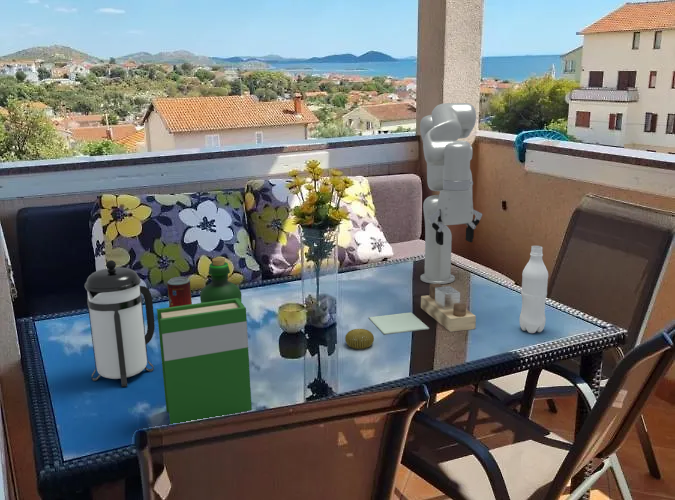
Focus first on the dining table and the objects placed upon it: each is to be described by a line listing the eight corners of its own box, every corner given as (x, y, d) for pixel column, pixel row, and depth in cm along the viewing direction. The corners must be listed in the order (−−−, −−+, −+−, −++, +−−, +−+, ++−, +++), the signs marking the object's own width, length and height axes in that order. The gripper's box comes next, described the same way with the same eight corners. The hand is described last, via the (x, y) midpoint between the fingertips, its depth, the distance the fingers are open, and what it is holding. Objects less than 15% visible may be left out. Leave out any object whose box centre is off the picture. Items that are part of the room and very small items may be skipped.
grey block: (434, 302, 194) (435, 287, 193) (449, 301, 196) (450, 286, 194) (444, 310, 188) (444, 294, 186) (459, 308, 189) (460, 292, 188)
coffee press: (158, 382, 153) (147, 265, 145) (89, 392, 148) (73, 271, 141) (157, 355, 169) (147, 248, 161) (94, 363, 164) (81, 253, 157)
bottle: (226, 374, 157) (219, 266, 150) (195, 365, 162) (187, 261, 155) (254, 358, 166) (248, 256, 159) (223, 350, 171) (217, 252, 164)
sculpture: (340, 329, 175) (367, 324, 177) (341, 342, 176) (367, 338, 178) (351, 339, 167) (378, 334, 170) (351, 353, 168) (378, 348, 171)
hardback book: (170, 426, 133) (160, 320, 127) (166, 410, 139) (156, 309, 133) (251, 409, 139) (245, 308, 133) (243, 395, 145) (238, 297, 140)
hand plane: (420, 307, 202) (421, 284, 200) (443, 305, 204) (444, 281, 202) (450, 331, 181) (451, 305, 179) (475, 328, 183) (476, 303, 181)
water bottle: (547, 334, 178) (553, 249, 172) (522, 334, 178) (527, 250, 172) (540, 325, 185) (545, 243, 179) (516, 325, 185) (520, 244, 179)
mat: (368, 318, 193) (368, 317, 193) (411, 313, 197) (411, 312, 197) (384, 334, 180) (384, 333, 180) (428, 329, 184) (428, 327, 184)
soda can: (168, 313, 201) (165, 277, 198) (190, 310, 203) (188, 274, 200) (171, 321, 194) (168, 283, 191) (194, 317, 197) (191, 280, 194)
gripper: (476, 182, 188) (474, 237, 192) (423, 185, 183) (422, 242, 187) (489, 185, 181) (486, 243, 185) (434, 189, 176) (433, 248, 180)
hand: (454, 242), depth 186 cm, fingers open, 9 cm apart
